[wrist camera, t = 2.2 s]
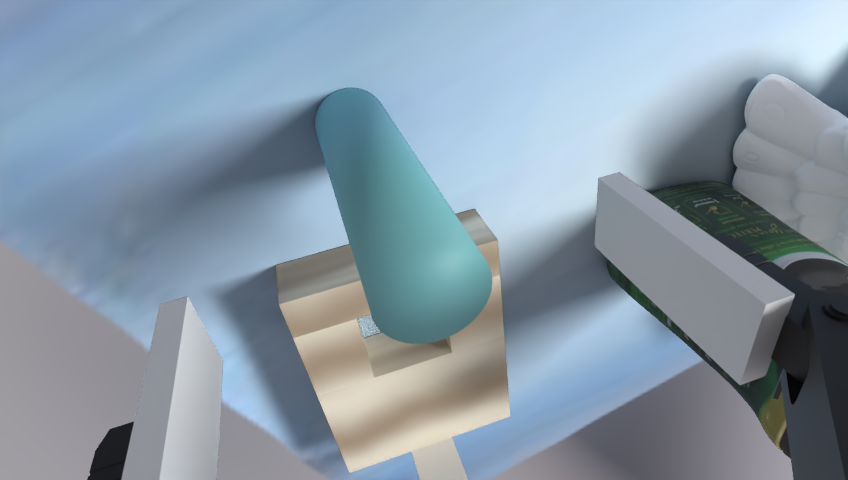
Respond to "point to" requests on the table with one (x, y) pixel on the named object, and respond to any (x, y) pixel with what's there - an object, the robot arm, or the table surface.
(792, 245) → the coffee jar
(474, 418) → the socket block
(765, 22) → the table surface
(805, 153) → the cherub figurine
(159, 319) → the robot arm
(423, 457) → the light grey angular piece
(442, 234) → the peg
